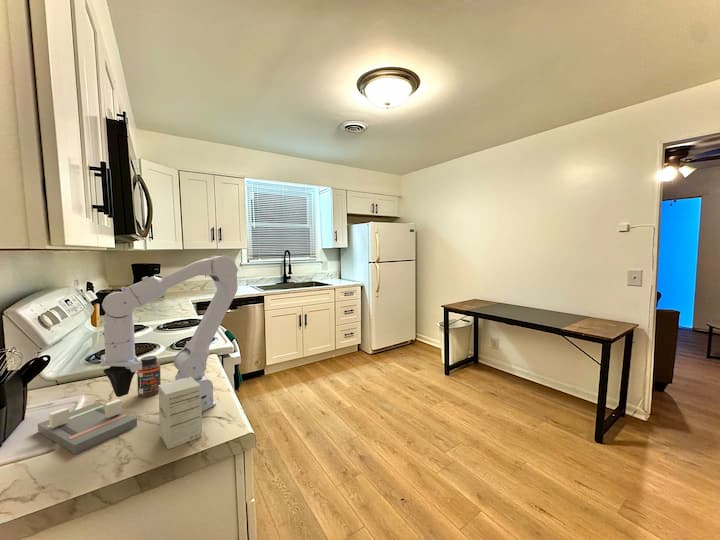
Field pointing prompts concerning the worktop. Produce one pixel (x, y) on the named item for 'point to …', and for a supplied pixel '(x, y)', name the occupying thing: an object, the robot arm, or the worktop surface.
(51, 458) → the worktop surface
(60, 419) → the block
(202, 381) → the robot arm
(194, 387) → the supplement box
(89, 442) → the board
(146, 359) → the supplement bottle
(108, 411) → the block
